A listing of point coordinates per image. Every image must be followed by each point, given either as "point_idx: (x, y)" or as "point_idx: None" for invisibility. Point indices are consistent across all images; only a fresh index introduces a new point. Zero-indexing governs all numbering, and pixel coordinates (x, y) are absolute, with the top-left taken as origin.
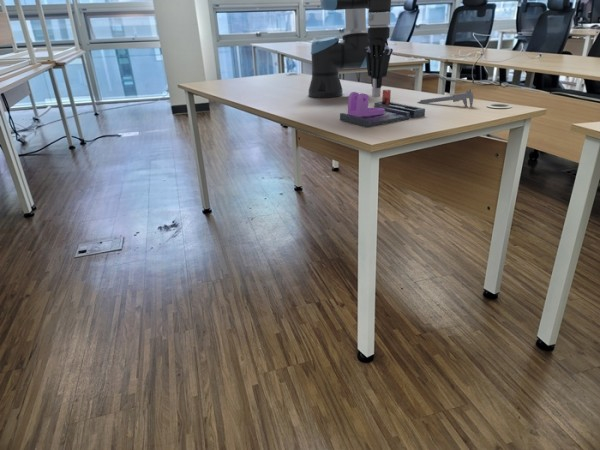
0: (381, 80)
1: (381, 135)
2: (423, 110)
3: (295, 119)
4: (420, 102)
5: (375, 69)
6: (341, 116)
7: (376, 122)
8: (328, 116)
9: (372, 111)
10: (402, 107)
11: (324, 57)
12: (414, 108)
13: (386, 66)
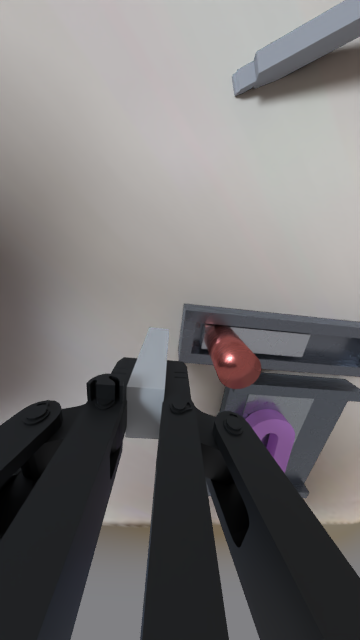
0: (190, 396)
1: (349, 492)
2: None
3: (124, 517)
4: (255, 84)
5: (94, 523)
6: None
7: (309, 468)
8: (152, 471)
9: (285, 468)
10: (302, 340)
11: None
12: (354, 336)
13: (348, 611)
